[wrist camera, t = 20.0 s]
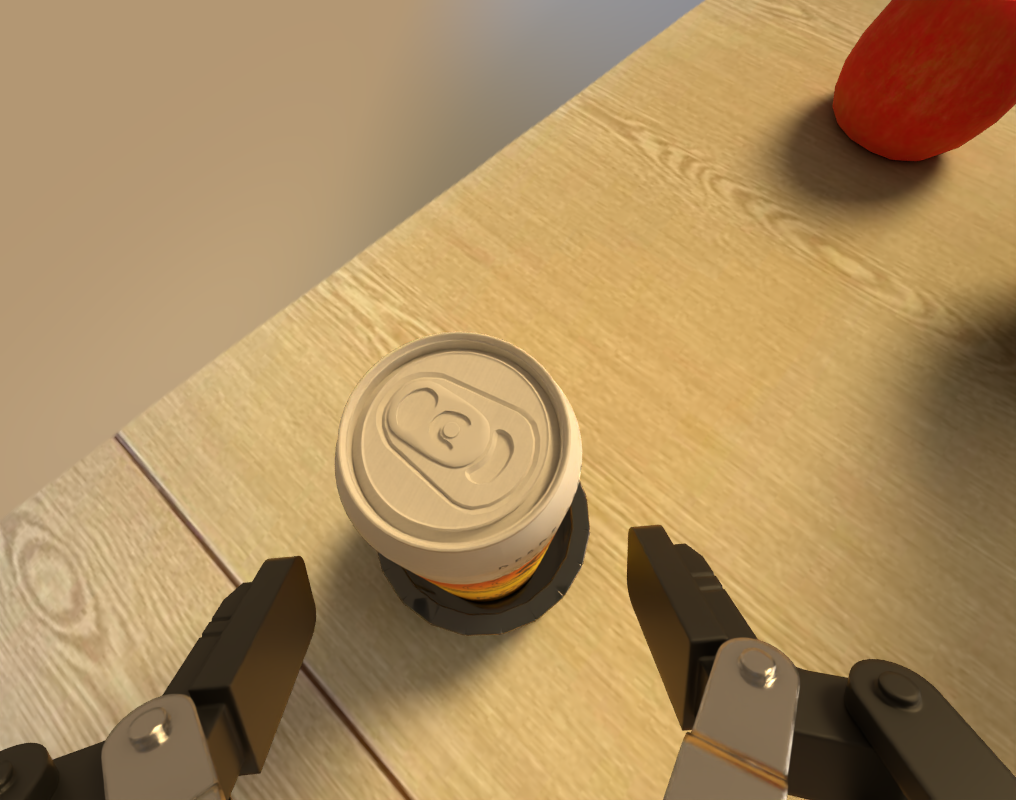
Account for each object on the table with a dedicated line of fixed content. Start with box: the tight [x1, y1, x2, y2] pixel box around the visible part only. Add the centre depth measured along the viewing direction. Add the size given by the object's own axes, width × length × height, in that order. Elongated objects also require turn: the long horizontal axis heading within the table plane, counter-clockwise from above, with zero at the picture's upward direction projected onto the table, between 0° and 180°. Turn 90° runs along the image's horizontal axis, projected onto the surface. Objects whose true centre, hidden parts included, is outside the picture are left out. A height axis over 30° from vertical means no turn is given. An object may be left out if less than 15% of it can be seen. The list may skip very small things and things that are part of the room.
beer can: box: [335, 332, 582, 602], centre depth 18 cm, size 6×6×15 cm
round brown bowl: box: [378, 480, 590, 636], centre depth 24 cm, size 9×9×4 cm
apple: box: [833, 0, 1016, 161], centre depth 33 cm, size 11×11×11 cm
